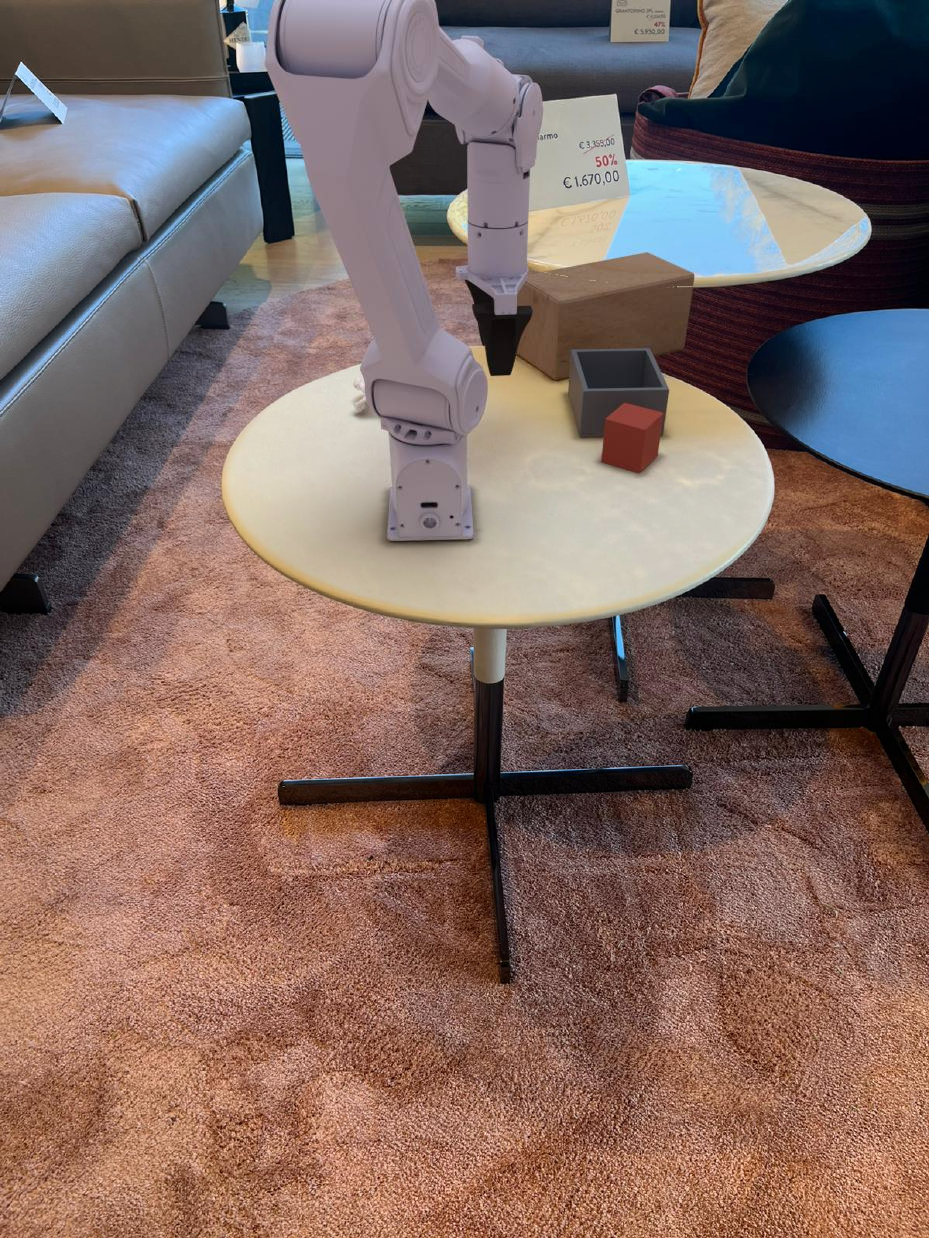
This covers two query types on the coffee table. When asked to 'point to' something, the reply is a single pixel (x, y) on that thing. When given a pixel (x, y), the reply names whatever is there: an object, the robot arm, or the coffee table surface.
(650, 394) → the tub
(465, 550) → the coffee table surface
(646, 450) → the block
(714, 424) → the coffee table surface
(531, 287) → the wooden block
